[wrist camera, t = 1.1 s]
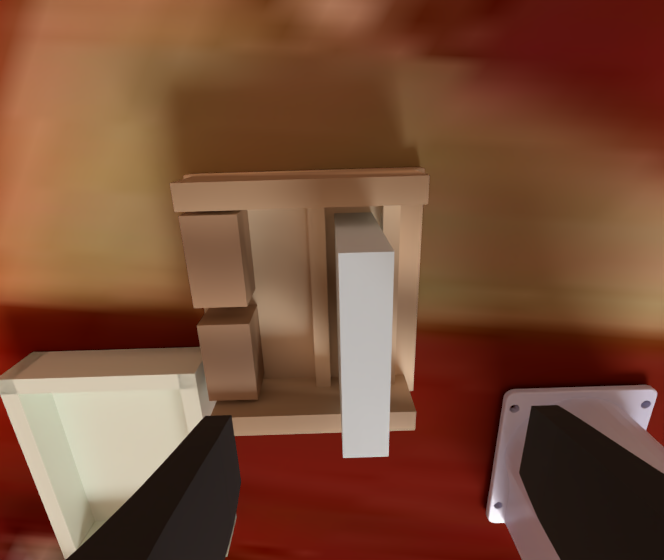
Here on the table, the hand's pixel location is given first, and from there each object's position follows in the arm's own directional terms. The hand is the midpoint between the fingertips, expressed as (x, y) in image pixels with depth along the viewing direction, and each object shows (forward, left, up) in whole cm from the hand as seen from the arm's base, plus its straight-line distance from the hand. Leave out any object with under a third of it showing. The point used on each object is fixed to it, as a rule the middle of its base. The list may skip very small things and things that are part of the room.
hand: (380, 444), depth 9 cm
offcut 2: (-2, +6, -9) cm, 11 cm away
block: (0, 0, -9) cm, 9 cm away
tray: (-9, +12, -10) cm, 18 cm away
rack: (0, +2, -10) cm, 10 cm away
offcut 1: (+2, +6, -9) cm, 11 cm away
